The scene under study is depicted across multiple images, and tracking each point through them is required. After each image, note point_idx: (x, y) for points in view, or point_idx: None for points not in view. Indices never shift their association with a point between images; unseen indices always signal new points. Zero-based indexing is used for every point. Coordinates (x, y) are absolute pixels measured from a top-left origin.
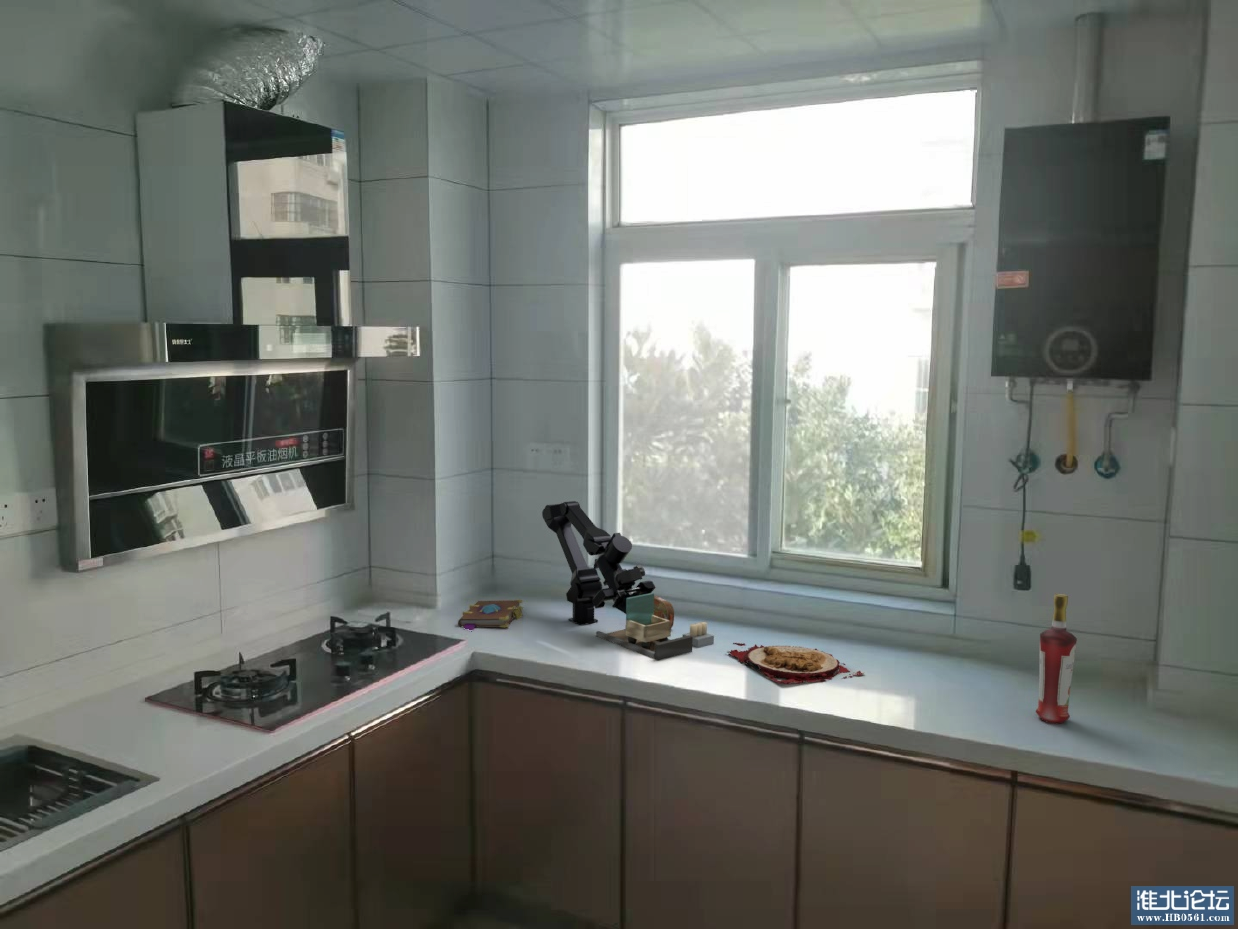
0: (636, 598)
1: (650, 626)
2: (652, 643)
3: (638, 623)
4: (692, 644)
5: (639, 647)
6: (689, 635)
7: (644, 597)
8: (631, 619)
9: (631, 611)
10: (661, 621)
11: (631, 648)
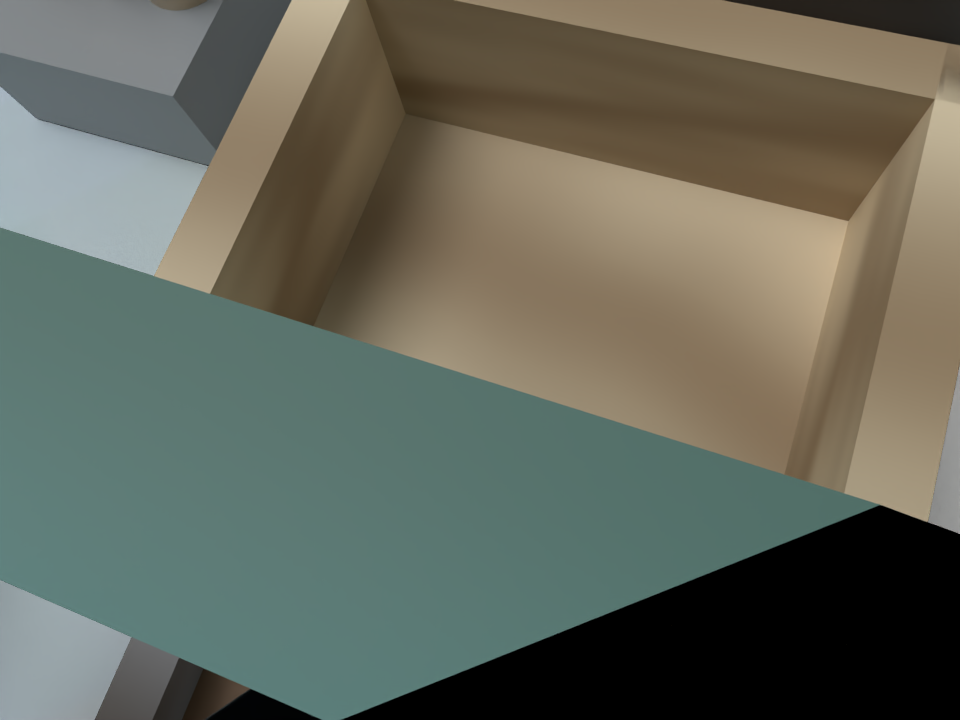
0: (714, 481)
1: (865, 38)
2: None
3: (916, 313)
4: (278, 11)
5: None
6: (183, 14)
7: (14, 259)
8: (790, 623)
9: (886, 634)
10: (314, 137)
11: None
